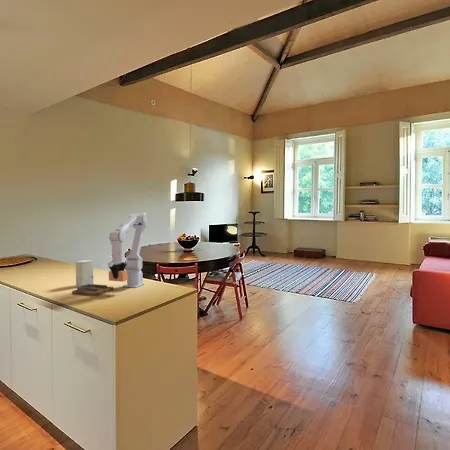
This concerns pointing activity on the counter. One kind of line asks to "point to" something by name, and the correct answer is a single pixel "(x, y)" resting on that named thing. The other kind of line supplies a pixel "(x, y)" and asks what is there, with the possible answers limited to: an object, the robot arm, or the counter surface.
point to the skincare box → (84, 272)
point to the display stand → (92, 289)
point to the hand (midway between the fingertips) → (118, 277)
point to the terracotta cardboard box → (121, 276)
